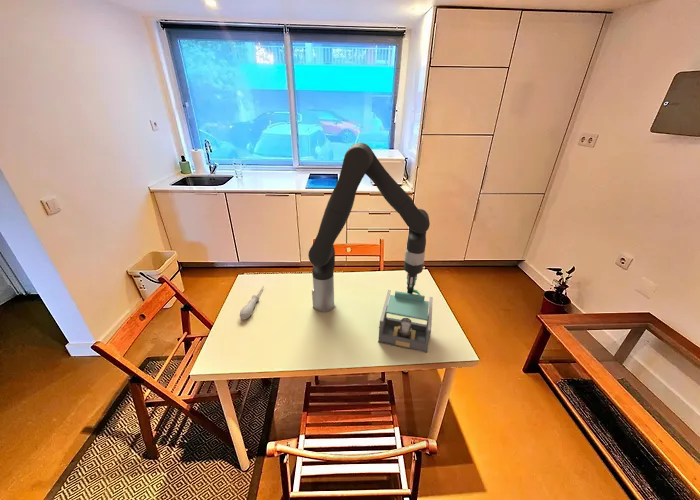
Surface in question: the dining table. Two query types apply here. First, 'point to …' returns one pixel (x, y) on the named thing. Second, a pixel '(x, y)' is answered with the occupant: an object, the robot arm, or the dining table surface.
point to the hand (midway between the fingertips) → (409, 294)
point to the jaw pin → (405, 328)
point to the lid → (408, 305)
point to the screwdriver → (249, 306)
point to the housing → (418, 331)
